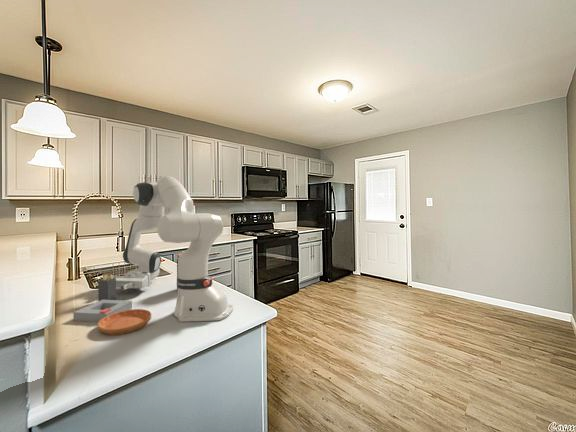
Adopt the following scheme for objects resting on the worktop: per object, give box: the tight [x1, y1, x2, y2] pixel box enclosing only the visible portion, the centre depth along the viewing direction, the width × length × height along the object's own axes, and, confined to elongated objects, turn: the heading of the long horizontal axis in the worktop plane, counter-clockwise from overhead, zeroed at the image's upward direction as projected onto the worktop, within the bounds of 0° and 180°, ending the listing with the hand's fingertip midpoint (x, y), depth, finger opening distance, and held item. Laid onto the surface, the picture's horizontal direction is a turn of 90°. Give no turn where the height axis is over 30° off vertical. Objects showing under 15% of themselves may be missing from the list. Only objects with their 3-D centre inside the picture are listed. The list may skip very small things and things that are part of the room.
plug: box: [97, 274, 117, 301], centre depth 112 cm, size 4×4×12 cm
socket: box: [73, 299, 133, 323], centre depth 100 cm, size 13×13×4 cm
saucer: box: [96, 308, 152, 336], centre depth 90 cm, size 16×16×3 cm
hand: (112, 287), depth 115 cm, fingers open, 8 cm apart
